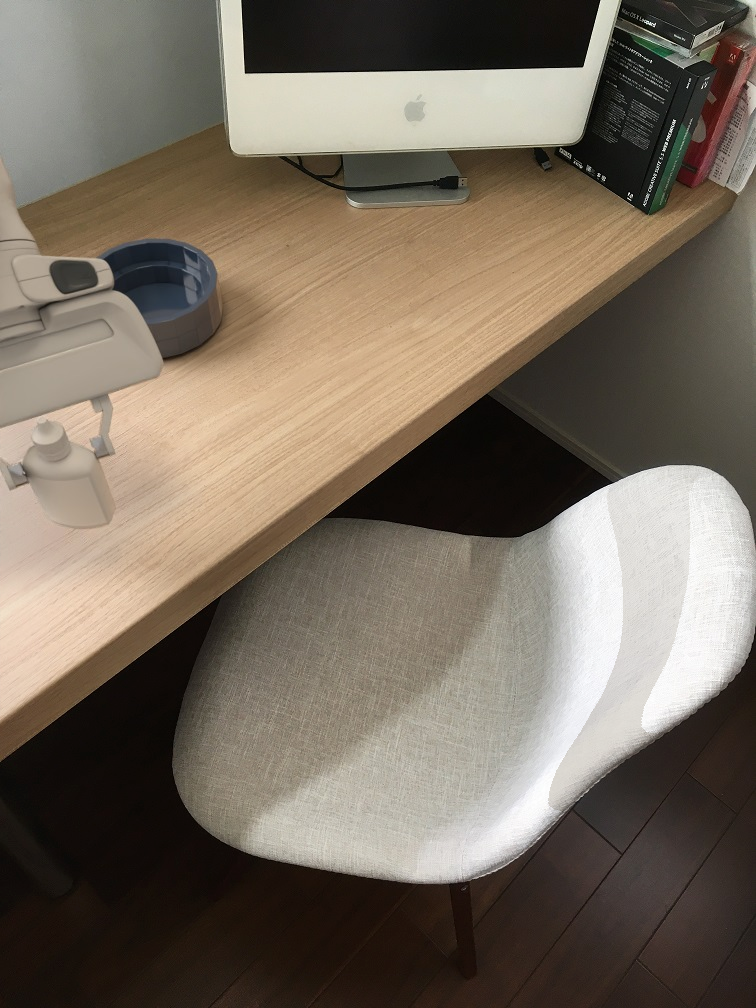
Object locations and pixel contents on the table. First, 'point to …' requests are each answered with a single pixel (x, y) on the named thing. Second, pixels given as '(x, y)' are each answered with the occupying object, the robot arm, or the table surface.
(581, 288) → the table surface
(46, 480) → the eye dropper bottle
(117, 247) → the bowl
